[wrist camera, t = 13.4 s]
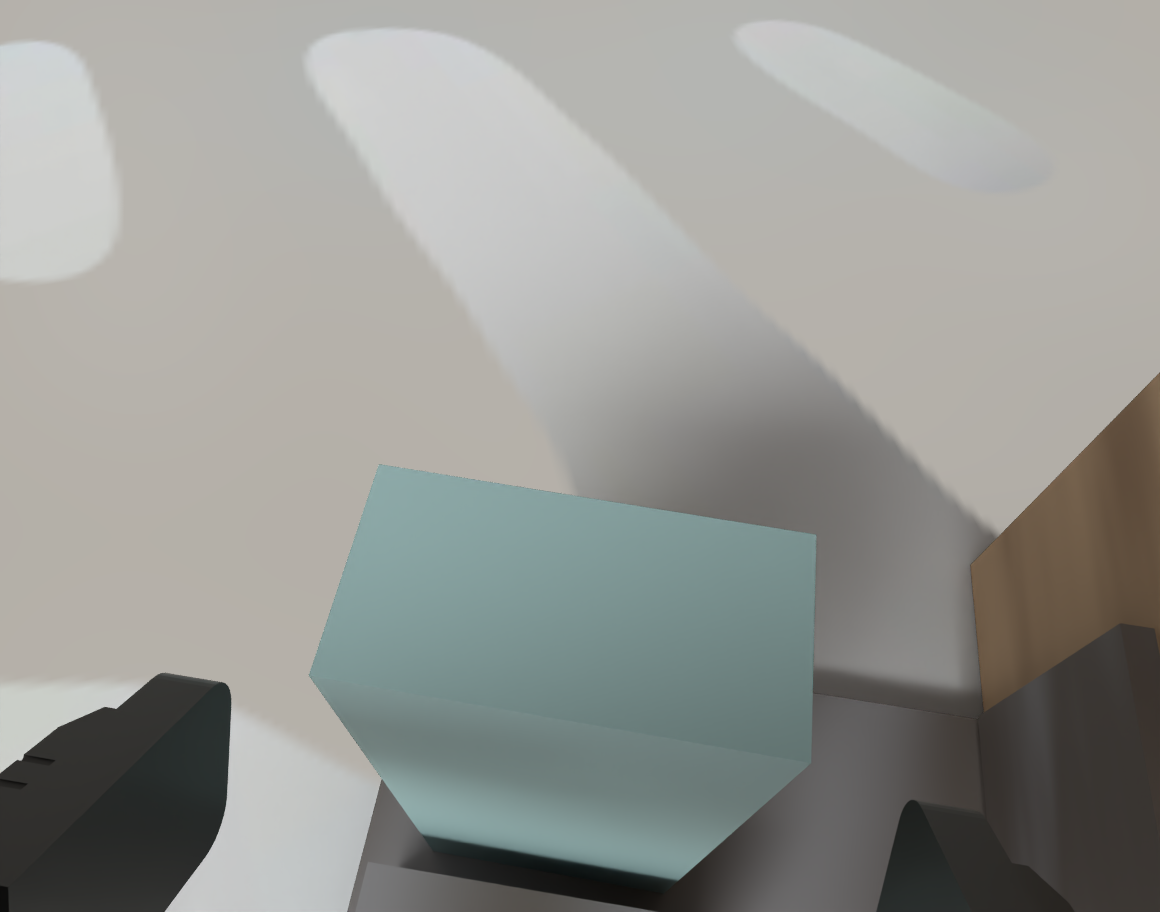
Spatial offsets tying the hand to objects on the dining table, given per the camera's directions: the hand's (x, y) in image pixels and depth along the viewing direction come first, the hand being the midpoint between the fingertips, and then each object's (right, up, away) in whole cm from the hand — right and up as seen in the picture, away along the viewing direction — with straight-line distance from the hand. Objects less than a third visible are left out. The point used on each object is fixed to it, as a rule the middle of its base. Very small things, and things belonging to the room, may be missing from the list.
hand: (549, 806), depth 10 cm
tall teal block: (0, -4, +9) cm, 10 cm away
